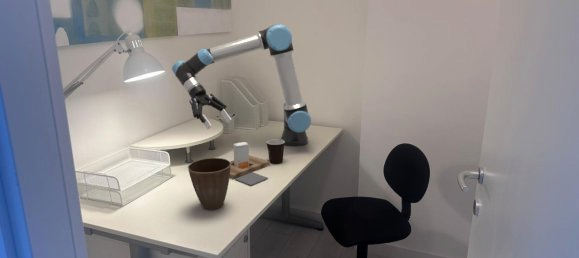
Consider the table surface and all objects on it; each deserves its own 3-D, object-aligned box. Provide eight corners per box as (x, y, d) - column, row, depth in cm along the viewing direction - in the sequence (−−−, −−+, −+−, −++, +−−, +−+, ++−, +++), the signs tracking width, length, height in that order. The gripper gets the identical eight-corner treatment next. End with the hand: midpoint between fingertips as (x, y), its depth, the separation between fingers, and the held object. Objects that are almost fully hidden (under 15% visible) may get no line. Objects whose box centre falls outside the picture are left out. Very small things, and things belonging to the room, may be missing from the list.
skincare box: (237, 171, 173) (236, 146, 170) (234, 168, 177) (232, 143, 174) (249, 168, 176) (248, 144, 173) (246, 165, 180) (245, 141, 176)
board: (249, 158, 189) (249, 155, 188) (269, 165, 180) (269, 161, 179) (213, 171, 173) (213, 167, 173) (233, 179, 164) (233, 175, 164)
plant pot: (195, 218, 131) (191, 175, 127) (188, 201, 144) (184, 161, 140) (237, 210, 137) (235, 168, 133) (227, 194, 150) (224, 155, 146)
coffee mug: (282, 165, 180) (282, 145, 177) (265, 164, 182) (264, 144, 179) (287, 157, 191) (287, 137, 188) (271, 156, 192) (270, 137, 190)
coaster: (252, 173, 171) (252, 172, 170) (268, 179, 164) (268, 177, 164) (235, 180, 163) (234, 178, 163) (250, 186, 157) (250, 184, 157)
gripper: (209, 90, 194) (233, 123, 191) (171, 98, 174) (196, 135, 170) (217, 81, 190) (241, 114, 186) (178, 87, 170) (204, 125, 166)
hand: (220, 124), depth 178 cm, fingers open, 13 cm apart
